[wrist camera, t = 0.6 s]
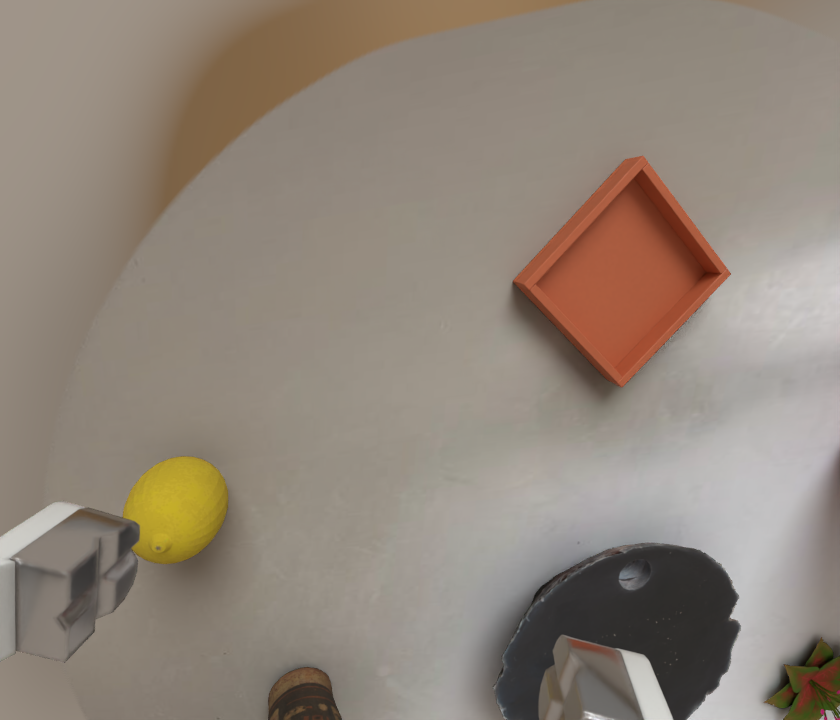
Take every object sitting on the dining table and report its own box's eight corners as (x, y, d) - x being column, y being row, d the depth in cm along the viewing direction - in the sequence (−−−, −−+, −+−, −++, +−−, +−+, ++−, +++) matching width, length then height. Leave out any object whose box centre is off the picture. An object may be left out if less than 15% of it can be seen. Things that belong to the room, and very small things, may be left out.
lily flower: (740, 702, 51) (779, 746, 47) (817, 615, 50) (865, 653, 46) (802, 737, 55) (843, 780, 51) (875, 657, 54) (924, 695, 50)
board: (567, 470, 39) (602, 505, 35) (745, 558, 46) (795, 597, 41) (430, 682, 42) (445, 741, 38) (615, 736, 49) (648, 792, 44)
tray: (512, 281, 34) (523, 284, 32) (625, 159, 34) (643, 155, 32) (606, 380, 38) (621, 388, 36) (710, 271, 37) (731, 274, 35)
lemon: (130, 470, 33) (74, 545, 25) (198, 421, 33) (163, 481, 25) (189, 525, 34) (153, 610, 27) (254, 478, 34) (236, 550, 27)
